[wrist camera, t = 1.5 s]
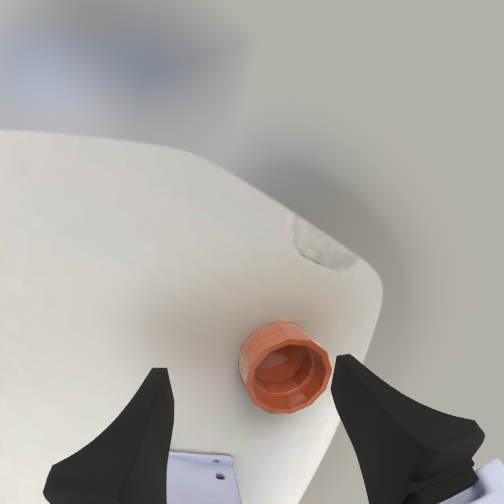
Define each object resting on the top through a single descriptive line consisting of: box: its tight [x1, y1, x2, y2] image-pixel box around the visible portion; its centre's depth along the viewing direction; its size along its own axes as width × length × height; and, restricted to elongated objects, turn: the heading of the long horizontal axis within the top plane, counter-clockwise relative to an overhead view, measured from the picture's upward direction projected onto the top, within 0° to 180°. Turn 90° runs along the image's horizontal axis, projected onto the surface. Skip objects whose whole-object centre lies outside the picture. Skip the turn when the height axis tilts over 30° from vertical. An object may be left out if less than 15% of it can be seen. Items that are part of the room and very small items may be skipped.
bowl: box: [238, 322, 332, 414], centre depth 21 cm, size 6×6×4 cm
